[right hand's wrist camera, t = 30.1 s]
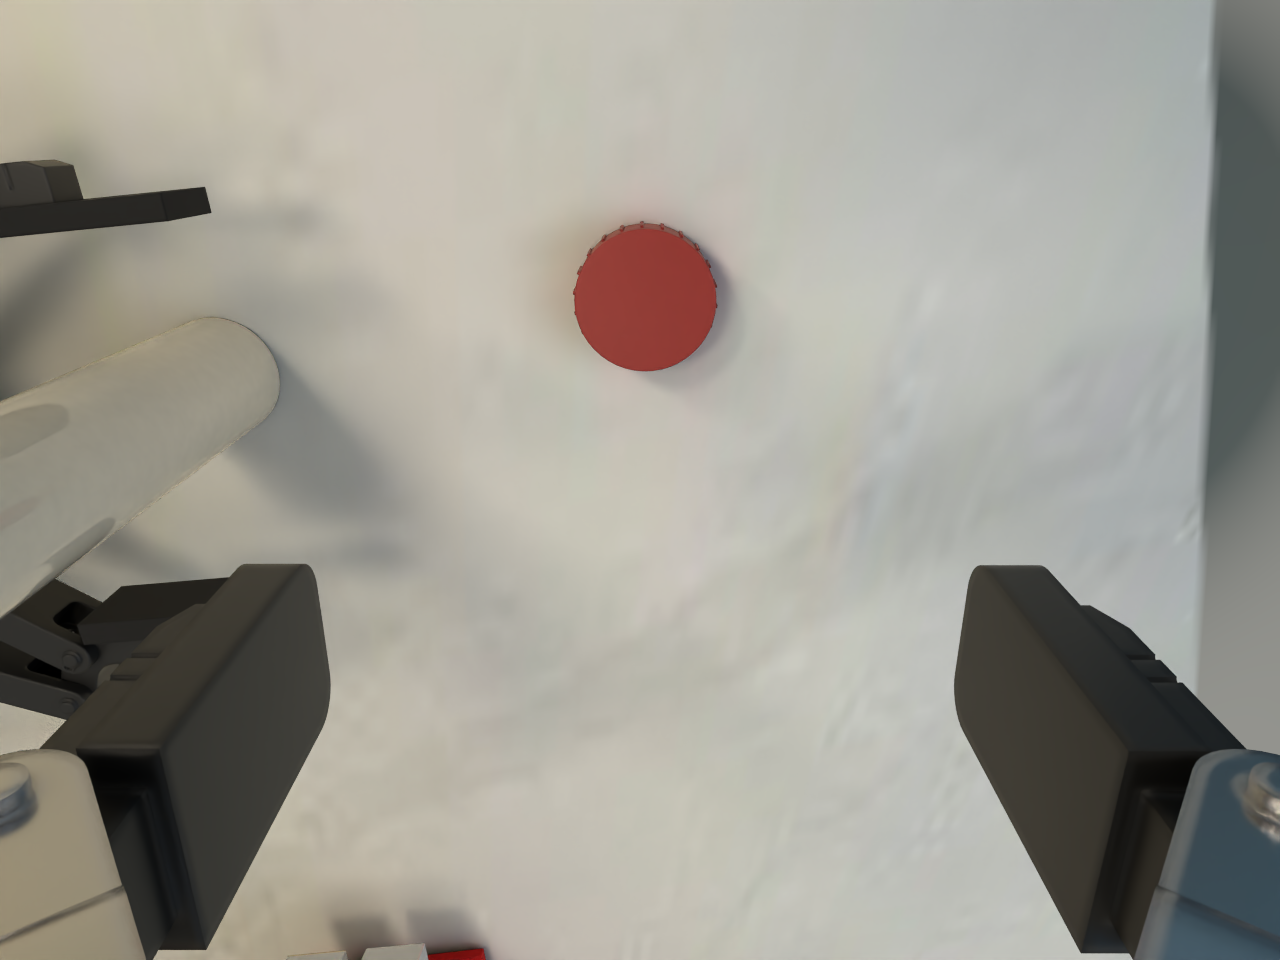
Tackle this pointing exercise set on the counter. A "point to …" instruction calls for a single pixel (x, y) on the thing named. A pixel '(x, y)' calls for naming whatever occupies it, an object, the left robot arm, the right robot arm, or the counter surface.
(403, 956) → the toy
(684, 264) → the lid
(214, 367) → the jar
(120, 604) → the left robot arm
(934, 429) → the counter surface
